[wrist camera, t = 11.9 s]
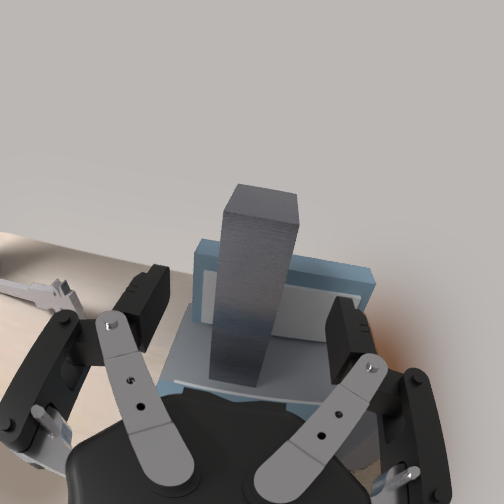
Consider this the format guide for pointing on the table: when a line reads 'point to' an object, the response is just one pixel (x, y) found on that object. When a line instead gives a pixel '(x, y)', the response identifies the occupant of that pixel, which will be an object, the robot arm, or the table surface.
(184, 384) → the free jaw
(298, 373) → the vise base
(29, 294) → the caliper
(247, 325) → the steel block
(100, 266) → the table surface
